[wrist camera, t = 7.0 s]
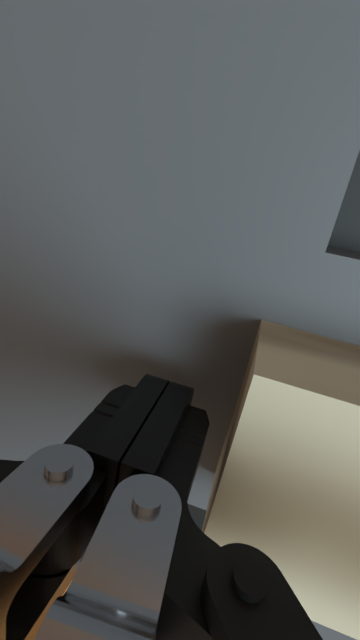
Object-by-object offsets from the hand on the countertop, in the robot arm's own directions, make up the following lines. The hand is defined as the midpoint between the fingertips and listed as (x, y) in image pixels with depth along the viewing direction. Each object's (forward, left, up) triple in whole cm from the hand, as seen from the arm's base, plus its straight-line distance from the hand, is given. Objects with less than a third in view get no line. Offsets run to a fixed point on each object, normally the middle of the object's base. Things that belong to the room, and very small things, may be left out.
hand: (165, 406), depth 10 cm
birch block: (0, +5, -1) cm, 5 cm away
